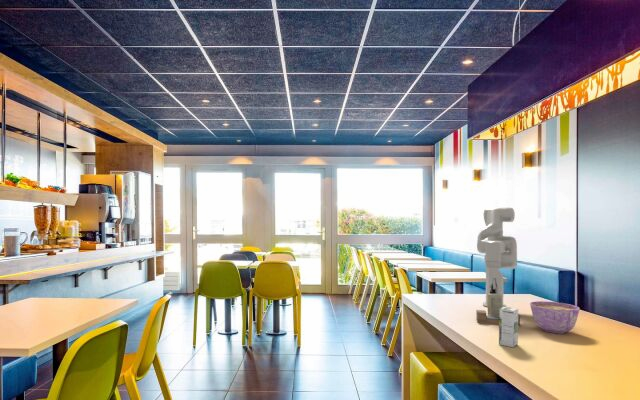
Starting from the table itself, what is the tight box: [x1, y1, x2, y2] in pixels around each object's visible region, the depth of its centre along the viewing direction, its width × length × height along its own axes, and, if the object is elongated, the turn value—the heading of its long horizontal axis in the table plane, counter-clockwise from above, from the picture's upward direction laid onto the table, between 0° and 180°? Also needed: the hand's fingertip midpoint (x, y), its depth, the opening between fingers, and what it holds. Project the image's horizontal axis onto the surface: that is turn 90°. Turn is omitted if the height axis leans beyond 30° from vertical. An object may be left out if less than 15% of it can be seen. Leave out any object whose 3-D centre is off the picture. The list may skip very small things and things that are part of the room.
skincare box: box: [487, 293, 502, 317], centre depth 222 cm, size 6×4×12 cm
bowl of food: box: [529, 300, 580, 334], centre depth 198 cm, size 20×20×12 cm
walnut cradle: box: [475, 309, 521, 327], centre depth 211 cm, size 6×19×5 cm, turn 75°
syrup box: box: [498, 306, 519, 348], centre depth 174 cm, size 6×6×14 cm
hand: (492, 299), depth 229 cm, fingers closed
